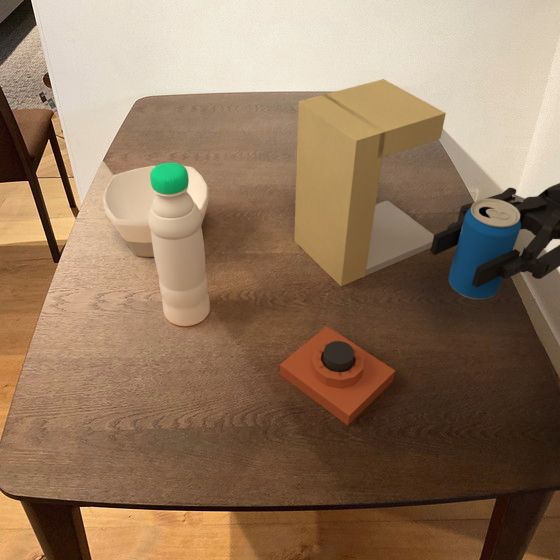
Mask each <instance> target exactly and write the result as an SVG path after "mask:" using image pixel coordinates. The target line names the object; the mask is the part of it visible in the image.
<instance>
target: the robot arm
mask: <svg viewBox="0 0 560 560" xmlns="http://www.w3.org/2000/svg"><path fill="white" fill-rule="evenodd" d="M516 193H517V189H516V188H514V187H508V188H507V189H505V190H504V191H503V192H501V193H498V194H495V195H492V196H488V197H485V198H484V199H498V200H502V201H505V202H507V203H509V204H511V205H513V206H514V207H515V208H516V209H517V210H518V211H519V213H520V222H521V228H520V231H521V230H527V231H528V232H530V233H531V234H533V238H532V239H531V241H530V242H529V243H528V245H527V246H526V247H525V246H524V247H523V250H522V253H521V251H519V250H518V249H516V248H513V250H512V251H510V252H508V253H506V254H504V255H501V256H499V257H497V258H495V259H493V260H491V261H489V262H487V263H485V264H482V265H480V266H478V267H477V269H476V272H475V275H474V278H473V281H472V285H473V286H474V287H476V288H477V287H479V286H481V285H483V284H485V283H487V282H489V281H491V280H493V279H495V278H498V277H500V276H501V277H502V278H503V279H502V280H504V279H505V280H506V279H509V278H511V277H513V276H515V275H517V274H519V273H526V272H528V273H530V274H531V276H532V278H534V279H537V280H540V279H543V278H544V277H546V276H547V275H549V274H550V273H552V272H553V271H555V270H556V269H558V268H559V267H560V244H558V245H557V246H555V247H554V248H552V249H550V250H549V251H547V252H545V253H543V254H542V255H541V256H540V254H541V253H542V252H543V251H544V249H546V248H547V247H548V245H549V244H550V243H551V242H552V241H553V240H560V182H558V183H556V184H554V185H551V186H549V187H547V188H545V189H544V190H543V191H542V192H540V193H539V194H538V195H534V196H527V197H522V196H520V195H517V194H516ZM474 202H475V201H474ZM474 202H473V201H472V202H470V203H466V204H464V205H461V206H460V210H459V214H458V217H457V221H455V222H453V223H451V224H448V225H447V229H445V230H443V231H441V232H438V233H436V234H433V235H434V238H433V242H432V247H431V248H430V251H429V252H430V253H431V254H432V255H434V256H436V255H438V254H441V253H442V252H445V251H447V250H449V249H453V248H454V247H457V244H458V240H459V237H460V233H461V229H462V225H463V222H464V218H465V214H466V212H467V211H468V210H469V209H470V208H471V206H472V204H473V203H474Z"/></svg>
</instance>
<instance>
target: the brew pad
mask: <svg viewBox="0 0 560 560" xmlns="http://www.w3.org/2000/svg"><path fill="white" fill-rule="evenodd" d="M333 341H342V342H346V343H348V344H349V345H350V346H351V347H352V348H353V350H354V360H353V365H352V367H351V368H350V369H349V370H347V371H345V372H334V371H331V370H329V369H328V368H327V367H326V366H325V365H324V362H323V355H324V348H325V347H326V345H327V344H329V343H330V342H333ZM395 374H396V370H395V369H394V368H392V367H391V366H389V365H387V364H386V363H384V362H383V361H381V360H380V359H378V358H377V357H375V356H374V355H372V354H371V353H369V352H368V351H366V350H365V349H363V348H362V347H360V346H358V345H356V344H355V343H354V342H352V341H351V340H349V339H347V337H344V336H343V335H342V334H340V333H338V332H337V331H335V330H334V329H332V328H330V327H329V326H325V327H324V328H323V329H321V330H320V331H319V332H318V333H317V334H316V335H314V336H313V337H312V338H310V339H309V340H308V341H306V342H305V343H304V344H303V345H302V346H301V347H299V348H298V349H297V350H295V352H293V353H291V354H290V355H289V356H288V357H287V358H286V359H285V360H283V361H282V362H281V363H279V376H281V377H282V378H283V379H285V380H286V381H287V382H289V384H292V385H293V386H294V387H295V388H297V389H298V390H300V391H301V392H302V393H303V394H304V395H306V396H307V397H309V398H310V399H311V400H312V401H314V402H315V403H316V404H318V405H320V406H321V408H323V409H325V410H326V411H327V412H329V413H330V414H331V415H333V416H334V417H335V418H336V419H337V420H339V421H341V422H342V423H343V424H345V426H349V425H350V424H352V423H353V422H354V421H355V419H356V418H357V417H358V416H360V415H361V414H362V413H363V412H364V411H365V410H366V408H368V406H370V405H371V404H372V403H373V402H374V400H376V399H377V398H378V397H379V396H380V395H381V394H382V393H383V392H384V391H385V390H386V389H387V388H388V387H389V386H390V385H391V384H392V383H393V382H394V380H395Z"/></svg>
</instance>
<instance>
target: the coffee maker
mask: <svg viewBox="0 0 560 560" xmlns="http://www.w3.org/2000/svg"><path fill="white" fill-rule="evenodd" d="M446 115H447V112H445V111H443V110H441V109H439V108H438V107H435V106H434V105H432V104H430V103H429V102H426V101H425V100H423V99H421V98H420V97H417V96H416V95H415V94H412V93H410V92H408V91H407V90H404V89H403V88H401V87H399V86H397V85H395V84H393V83H392V82H390V81H388V80H386V79H384V78H382V79H378V80H375V81H370V82H366V83H363V84H359V85H355V86H353V87H352V86H351V87H348V88H347V87H346V88H344V89H340V90H336V91H331V92H329V93H325V94H320V95H317V96H312V97H310V98H306V99H302V100H298V117H297V143H296V144H297V145H296V173H295V175H296V176H295V177H296V179H295V205H294V207H295V209H294V212H295V213H294V238H293V240H294V242H295V244H297V245H298V247H299V248H301V250H302V251H304V252H305V253H306V254H307V255H308V256H309V257H310V258H311V259H312V260H313V261H314V262H315V264H317V265H318V266H319V267H320V268H321V269H322V270H323V271H324V272H325V273H326V274H327V275H328V276H329V277H331V279H333V281H334V282H336V284H338V285H339V286H340V287H343V286H345V285H349V284H350V283H352V282H354V281H355V282H356V281H357V280H359V279H362V278H365V277H366V276H370V275H371V274H373V273H376V272H379V271H381V270H383V269H385V268H387V267H390V266H392V265H394V264H397V263H399V262H401V261H404V260H406V259H409V258H411V257H413V256H415V255H418V254H420V253H422V252H425V251H427V250H431V247H432V242H433V238H434V235H435V234H434V233H432V232H431V231H430V230H428V229H427V228H425V227H424V226H423V225H422V224H420V223H419V222H417V221H416V220H415V219H413V218H412V217H411V216H409V214H407V213H405V212H404V211H403V210H402V209H400V208H399V207H397V206H396V205H395V204H393V203H392V202H390V200H384V201H382V202H379V203H377V196H378V189H379V183H380V177H381V169H382V163H383V158H385V157H388V156H391V155H394V154H395V155H396V154H397V153H400V152H404V151H407V150H409V149H413V148H415V147H418V146H421V145H424V144H428V143H431V142H434V141H437V140H440V139H441V138H442V133H443V128H444V123H445V119H446Z"/></svg>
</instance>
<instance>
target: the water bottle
mask: <svg viewBox="0 0 560 560" xmlns="http://www.w3.org/2000/svg"><path fill="white" fill-rule="evenodd" d="M155 166H156V167H154V168H153V169H152V171H151V173H150V181H151V186H152V188H153V191H154V192H155V193H156V196H155V198H154V200H153V203H152V206H151V209H150V211H149V215H148V224H149V227H150V229H151V236H152V246H153V252H154V257H153V258H154V262H155V268H156V271H157V275H158V280H159V281H158V285H159V293H160V296H161V300H162V301H161V302H162V310H163V315H164V317H165V319H166V320H167V321H168V322H169V323H171V324H173V325H175V326H178V327H191V326H195V325H197V324H199V323H202V322H203V321H204V320H205V319H206V318H207V317H208V315H209V314H210V311H211V301H210V295H209V292H208V291H209V286H208V285H209V284H208V281H209V280H208V277H207V273H206V269H207V268H206V266H207V265H206V252H205V242H204V234H203V229H202V225H201V212H200V210H199V208H198V206H197V205H196V204H195V202H194V201H193V199H192V197H191V196H190V195H189V194H188V193H187V192H186V190H187V189H188V182H189V179H188V172H187V170H186V168H185V167H184V166H185V165H183V164H181V163H178V162H163V163H160V164H157V165H155Z"/></svg>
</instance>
